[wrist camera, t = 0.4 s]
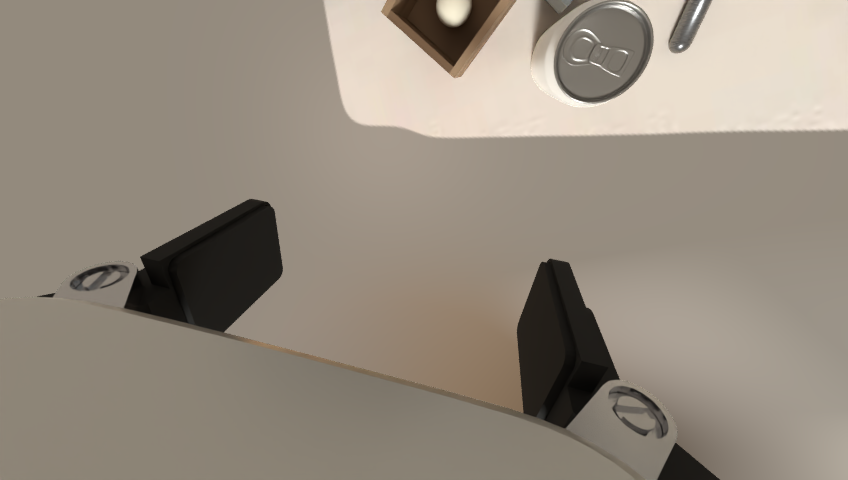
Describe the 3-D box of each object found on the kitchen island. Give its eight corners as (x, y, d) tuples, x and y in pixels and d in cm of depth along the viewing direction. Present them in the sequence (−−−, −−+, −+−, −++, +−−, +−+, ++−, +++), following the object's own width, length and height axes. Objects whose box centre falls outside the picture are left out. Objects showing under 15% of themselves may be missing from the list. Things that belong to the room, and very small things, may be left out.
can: (550, 7, 28) (581, -27, 18) (618, 31, 28) (689, 11, 18) (518, 83, 31) (528, 92, 21) (578, 105, 31) (618, 124, 21)
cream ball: (453, -22, 28) (449, -32, 25) (480, 3, 28) (478, -3, 26) (432, 13, 29) (425, 8, 27) (458, 37, 30) (453, 34, 27)
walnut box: (451, -70, 27) (440, -102, 22) (518, -3, 28) (523, -19, 23) (400, 21, 31) (381, 11, 26) (461, 76, 32) (454, 78, 27)
